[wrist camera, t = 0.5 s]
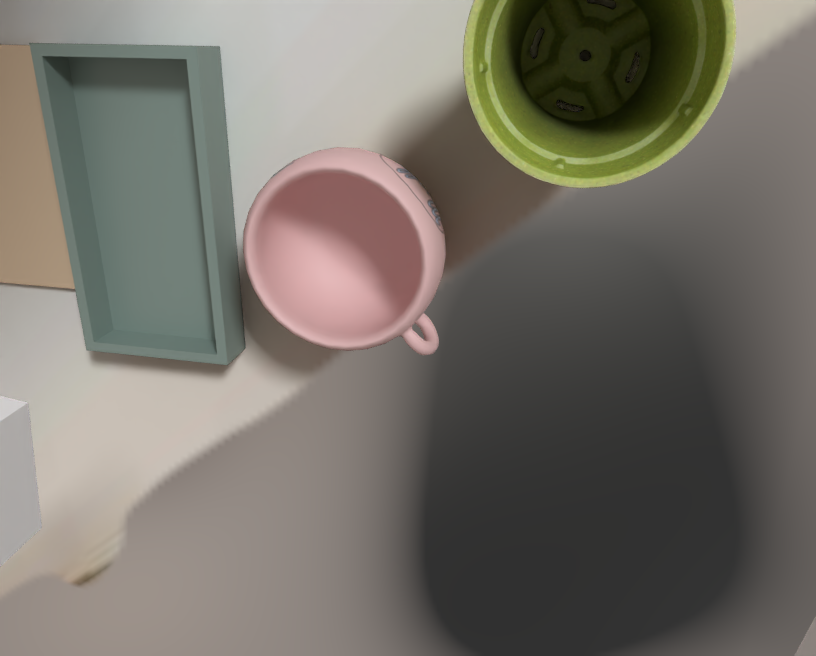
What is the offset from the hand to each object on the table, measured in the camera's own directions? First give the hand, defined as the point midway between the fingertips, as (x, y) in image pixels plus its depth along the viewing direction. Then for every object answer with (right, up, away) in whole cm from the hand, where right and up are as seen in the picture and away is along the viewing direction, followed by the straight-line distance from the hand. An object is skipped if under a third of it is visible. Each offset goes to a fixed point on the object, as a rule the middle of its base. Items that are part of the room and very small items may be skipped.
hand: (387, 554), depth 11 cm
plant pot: (+9, +17, +21) cm, 28 cm away
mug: (-1, +8, +26) cm, 28 cm away
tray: (-14, +11, +28) cm, 33 cm away
